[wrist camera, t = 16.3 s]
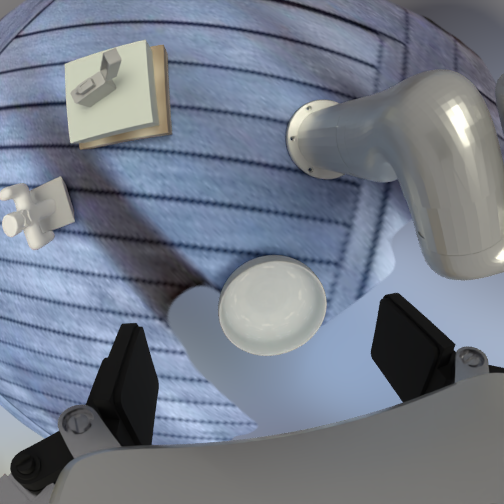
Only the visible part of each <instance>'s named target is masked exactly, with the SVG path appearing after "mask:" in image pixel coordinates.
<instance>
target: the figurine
mask: <svg viewBox="0 0 504 504" xmlns="http://www.w3.org/2000/svg"><path fill="white" fill-rule="evenodd" d="M0 199H1V200H2V201H7V200H10V199H13V200H14V202H15V205H16V209H17V212H12V213H10V214H7V215H6V216H4V218H3V221H2V226H3V230H4V232H5V234H6V235H7V236H9V237H13V236H15V235H17V234H19V233H21V232H22V230H24V233H25V236H26V239H27V242H28V244H29V247H30V248H31V249H32V250H38V249H40V248H42V247H43V246H45V245H46V244H48V243H49V242H51V241H52V240H53V239H54V236H55V235H54V232H53V231H52V230H55V229H57V228H60V227H62V226H65V225H68V224H70V223H73V222H75V219H74V210H73V206H72V203H71V200H70V197H69V193H68V190H67V186H66V184H65V182H64V181H63V179H62V177H58V178H56V179H54V180H52V181H50V182H47V183H45V184H43V185H41V186H39V187H37V188H35V189H33V190H31V191H29V188H28V186H27V185H26V184H24V183H20V184H16V185H12V186H9V187H6V188H4V189H2V190H1V192H0Z"/></svg>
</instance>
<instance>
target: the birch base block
mask: <svg viewBox="0 0 504 504" xmlns="http://www.w3.org/2000/svg"><path fill="white" fill-rule="evenodd" d="M150 48H151V50H152V52H153V65H154V77H155V88H156V98H157V107H158V116H159V124H160V125H158V126H153V127H148V128H144V129H139V130H134V131H130V132H126V133H122V134H117V135H113V136H110V137H106V138H102V139H98V140H94V141H91V142H87V143H79V146H80V149H93V148H97V147H102V146H107V145H112V144H117V143H122V142H127V141H133V140H139V139H145V138H151V137H157V136H164V135H171V134H172V126H171V112H170V96H169V78H168V54H167V52H166V49H165V47H164V45H158V46H152V47H150Z"/></svg>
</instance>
